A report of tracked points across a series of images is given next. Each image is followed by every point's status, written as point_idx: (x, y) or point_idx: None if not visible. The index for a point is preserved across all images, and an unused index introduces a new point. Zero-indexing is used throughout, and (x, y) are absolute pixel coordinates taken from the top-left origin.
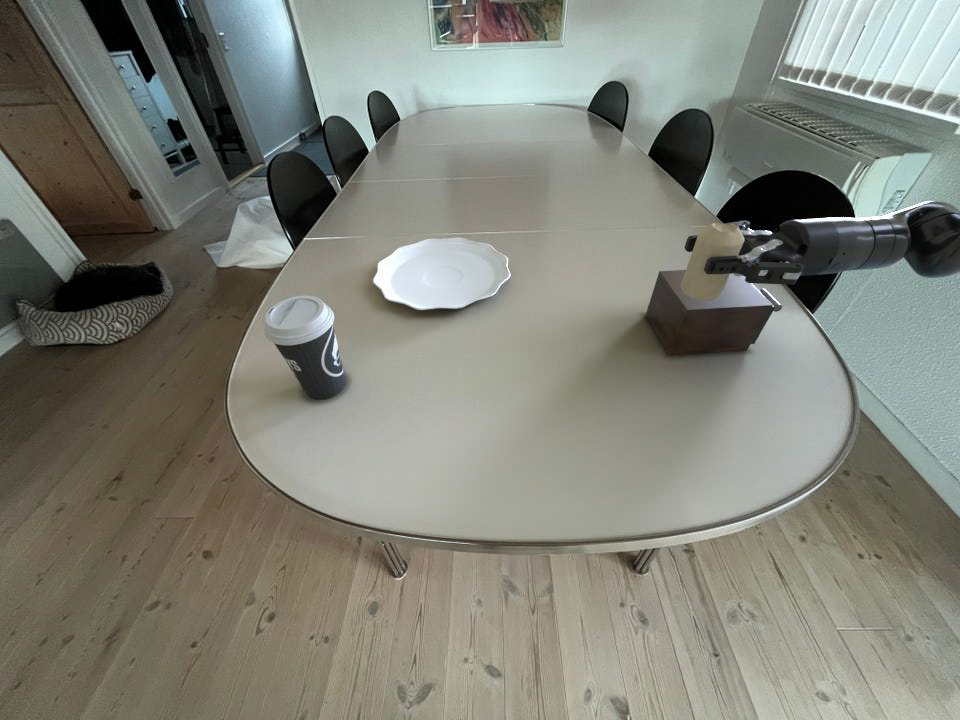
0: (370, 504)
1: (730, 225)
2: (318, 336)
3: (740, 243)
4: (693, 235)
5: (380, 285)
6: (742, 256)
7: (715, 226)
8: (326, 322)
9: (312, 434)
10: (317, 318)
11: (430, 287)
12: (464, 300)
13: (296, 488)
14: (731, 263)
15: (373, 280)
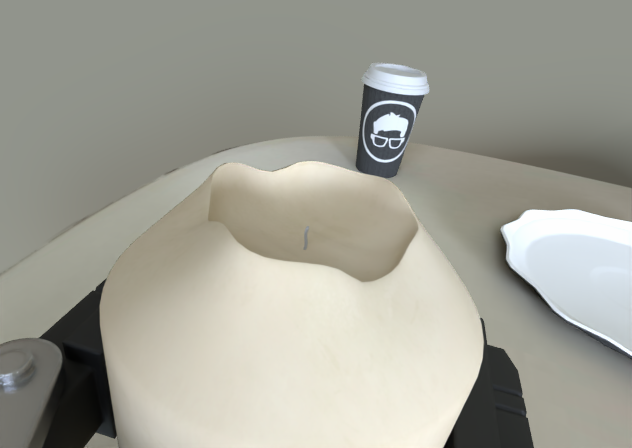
0: (219, 162)
1: (340, 281)
2: (368, 85)
3: (105, 290)
4: (485, 333)
5: (566, 214)
6: (45, 362)
7: (391, 236)
8: (383, 83)
9: (314, 155)
10: (382, 72)
11: (589, 269)
12: (552, 294)
13: (263, 144)
14: (83, 306)
15: (577, 210)
